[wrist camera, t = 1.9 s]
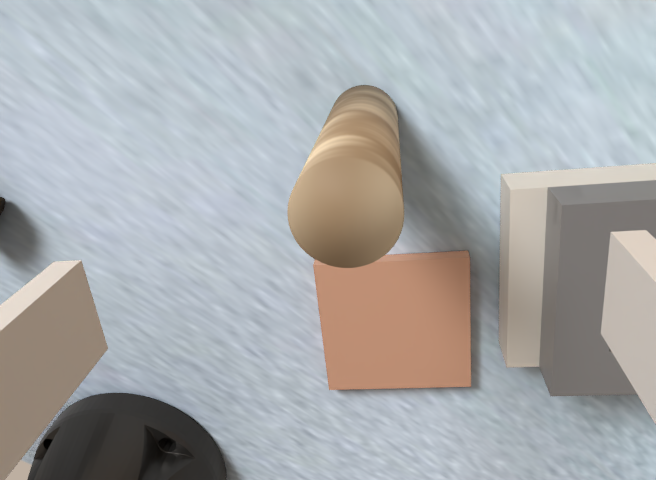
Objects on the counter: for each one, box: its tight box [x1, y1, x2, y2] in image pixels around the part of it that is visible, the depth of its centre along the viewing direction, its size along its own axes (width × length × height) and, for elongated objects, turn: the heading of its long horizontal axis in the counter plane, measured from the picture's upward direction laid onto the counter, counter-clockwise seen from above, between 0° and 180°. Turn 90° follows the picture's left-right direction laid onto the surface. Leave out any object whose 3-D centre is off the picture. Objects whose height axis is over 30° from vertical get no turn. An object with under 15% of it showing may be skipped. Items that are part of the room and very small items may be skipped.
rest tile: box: [313, 251, 471, 390], centre depth 39 cm, size 10×10×1 cm
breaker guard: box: [499, 163, 656, 396], centre depth 33 cm, size 16×12×6 cm
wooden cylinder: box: [288, 85, 404, 268], centre depth 27 cm, size 4×4×16 cm
